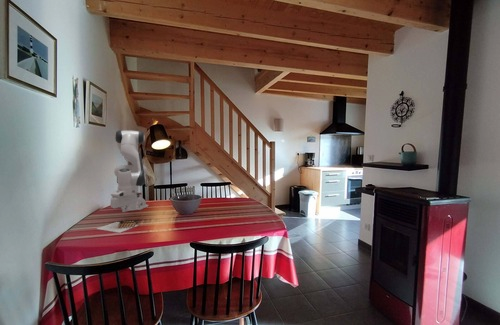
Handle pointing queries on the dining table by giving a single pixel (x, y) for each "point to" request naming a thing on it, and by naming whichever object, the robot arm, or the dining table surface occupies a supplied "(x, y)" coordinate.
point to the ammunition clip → (127, 223)
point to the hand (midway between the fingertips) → (124, 211)
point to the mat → (115, 227)
